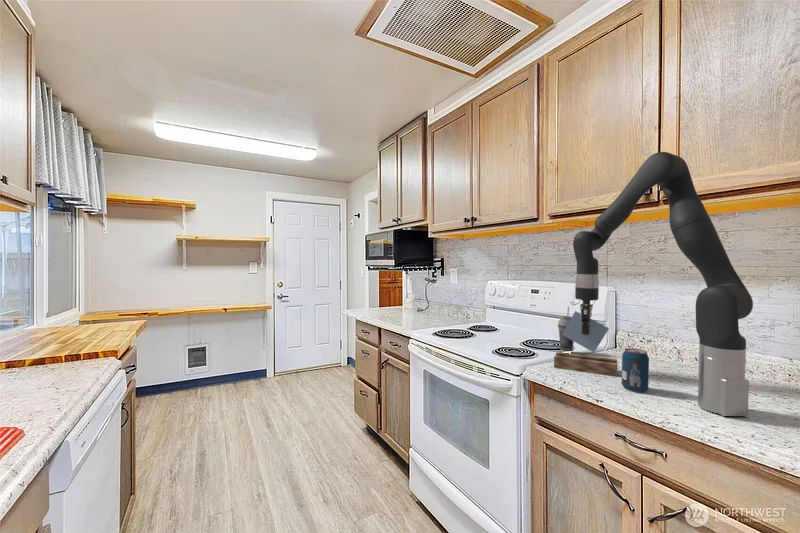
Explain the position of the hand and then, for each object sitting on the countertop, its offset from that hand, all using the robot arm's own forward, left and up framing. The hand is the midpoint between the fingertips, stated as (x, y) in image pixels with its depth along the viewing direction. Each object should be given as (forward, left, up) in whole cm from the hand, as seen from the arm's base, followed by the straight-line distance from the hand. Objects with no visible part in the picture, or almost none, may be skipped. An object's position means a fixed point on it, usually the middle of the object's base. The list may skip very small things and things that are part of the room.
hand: (585, 333), depth 130 cm
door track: (0, 0, -13) cm, 13 cm away
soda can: (-20, -5, -13) cm, 25 cm away
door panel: (+1, +2, -4) cm, 5 cm away
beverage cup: (+23, -4, -13) cm, 27 cm away
